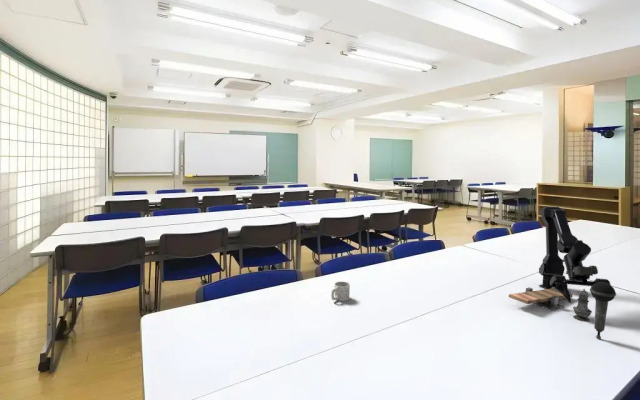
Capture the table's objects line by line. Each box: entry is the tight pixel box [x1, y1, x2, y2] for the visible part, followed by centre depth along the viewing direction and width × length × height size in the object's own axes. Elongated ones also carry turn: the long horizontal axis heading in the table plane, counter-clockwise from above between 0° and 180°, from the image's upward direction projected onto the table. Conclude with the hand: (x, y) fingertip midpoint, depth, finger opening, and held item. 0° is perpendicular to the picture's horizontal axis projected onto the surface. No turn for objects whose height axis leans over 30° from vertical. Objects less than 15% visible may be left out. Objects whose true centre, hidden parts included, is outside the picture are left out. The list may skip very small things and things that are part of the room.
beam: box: [508, 287, 573, 305], centre depth 145 cm, size 32×8×2 cm, turn 117°
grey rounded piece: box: [572, 288, 593, 323], centre depth 130 cm, size 6×6×12 cm
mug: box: [330, 281, 351, 302], centre depth 150 cm, size 10×7×7 cm, turn 135°
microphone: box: [589, 282, 617, 340], centre depth 115 cm, size 7×7×20 cm
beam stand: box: [525, 286, 565, 312], centre depth 146 cm, size 8×14×5 cm, turn 26°
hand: (584, 303), depth 129 cm, fingers open, 9 cm apart
